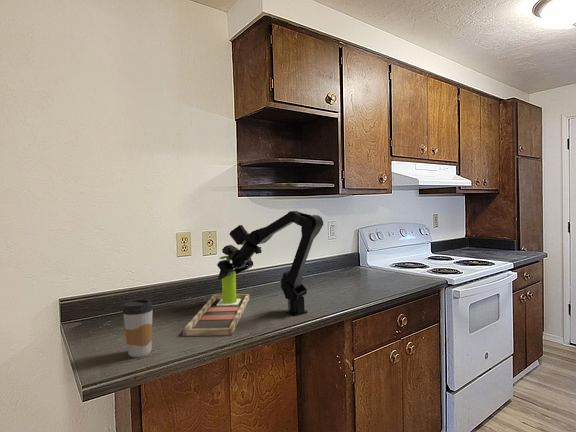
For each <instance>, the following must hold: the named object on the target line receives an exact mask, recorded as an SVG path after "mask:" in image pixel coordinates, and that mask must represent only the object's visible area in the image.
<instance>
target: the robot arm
mask: <svg viewBox="0 0 576 432" xmlns="http://www.w3.org/2000/svg"><path fill="white" fill-rule="evenodd" d="M292 224H296V225H297V226H300V227H301V230H300V231H301V237H300V240H299V243H298V247H297V249H296V253H295V255H294V257H293V260H292V264H291V267H290V269H289V270H288V271H285V272H283V273H282V276H281V277H282V278H281V280H280V282H279V283H280V288H281V290H282V292H283V294H284V297H285V299H286V300H287V310H284V311H285V313H288V314H290V315H292V316H299V315H304V314H307V313H308V312H309V311H308V310H305V297H304V296H306V295H307V292H308V288H306V287H305V286H304V284H303V272H304V268H305V265H306V262H307V259H308V256H309V253H310V251H311V248H312V245H313V242H314V240H315V238H317V236H318V235H319V233H320V231H322V228H323V226H324V220H323V218H322V216H321V215H318V214H313V215H311V214H308V213H303V212H300V211H298V210H290V211H288V213H286V214H285V215H283V216H281V217H279V218H278V219H277V220H275V221H273V222H272V223H270V224H268V225H266V226H264V227H261V228H258V229H255V230H252V231H251V232H250V233H249V232H248V231H247V230H246V229H245V227H244V226H243V224H238V225H237V226H236V227H235V228H234V229H232V230H231V231H230V232H229V234H228V235H229V236H230V238H231V239H232V240H233V241H234V242H235V244H236V245H238V246H239V245H240V246H241V247H240V248H238V247H236V246H234V245H233V244H229V245H225V246H223V247H222V250H221V251H222V253H223V254H224V255H225V256H230V258H229V259H230V261H231V262H230V263H231V264H230V263H229V262H228V260H226V259H221V260H219V261H218V262H217V264H216V266H217V267H218V269H219V273H218V276H217V279H218V280H219V281H222V279H223V278H225V277H227V276H229V275H231V273H232V272H233V271H236V275H239V274H240V273H243V272H245V271H248V270H250V269H252V267H253V266H254V261H253V260H252V257H253V255H254V254H255V255H258V254H261V253H262V247H261V246H259V245H262V244H265V243H267V242H268V241H269V240H271V238H272V237H273V235H275V234H276V233H278V232H280V231H282V230H283V229H285V228H286V227H288V226H290V225H292Z"/></svg>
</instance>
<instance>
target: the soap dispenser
mask: <svg viewBox="0 0 576 432" xmlns="http://www.w3.org/2000/svg"><path fill="white" fill-rule="evenodd" d="M229 258H230V256H228V255H224V256H221V257H219V259H220V260H228V262H229V263H230V264H231V263H232V262H231V260H230V259H229ZM236 275H237V274H236V271H233V272H232V273H231V275H229V276H227V277H225V278H223V279H221V288H222V289H221V290H222V293H221V294H223V303H225V304H232V303H235V302H236V301H237V300H236V294H237V278H236V277H237V276H236Z"/></svg>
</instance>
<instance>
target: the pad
mask: <svg viewBox="0 0 576 432" xmlns="http://www.w3.org/2000/svg"><path fill="white" fill-rule="evenodd" d="M236 300H237V301H236V302H235V303H232V304H225V303H223V299H221V300H219V301H218V302H217V304H216V307H225V306H226V307H232V306H233V307H238V306H239V304H240V302H241V301H242V299H236Z"/></svg>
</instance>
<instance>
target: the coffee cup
mask: <svg viewBox="0 0 576 432" xmlns="http://www.w3.org/2000/svg"><path fill="white" fill-rule="evenodd" d="M153 310H154V304H153V303H152V301H151V299H146V298H145V299H144V298H143V299H142V298H141V299H134V300H129V301H127V302H124V304H123V307H122V312H121V313H122V314H123V323H124V334H125V335H124V336H125V342H126V348H127V354H128V356H129V357H130V358H141V357H145V356H148V355H149V354H150V353H151V351H152V345H153V343H152V342H153Z"/></svg>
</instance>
